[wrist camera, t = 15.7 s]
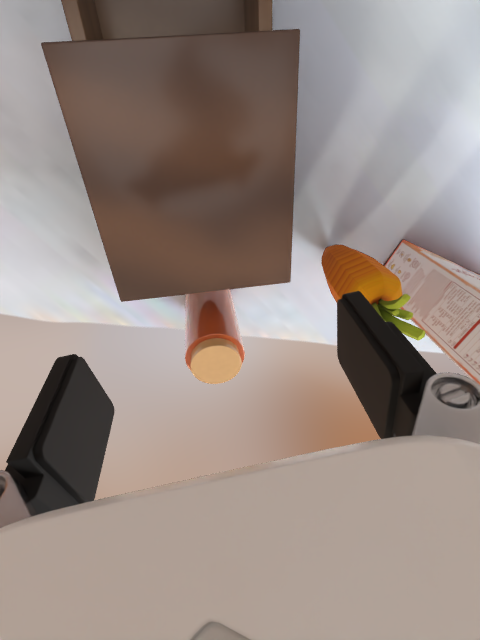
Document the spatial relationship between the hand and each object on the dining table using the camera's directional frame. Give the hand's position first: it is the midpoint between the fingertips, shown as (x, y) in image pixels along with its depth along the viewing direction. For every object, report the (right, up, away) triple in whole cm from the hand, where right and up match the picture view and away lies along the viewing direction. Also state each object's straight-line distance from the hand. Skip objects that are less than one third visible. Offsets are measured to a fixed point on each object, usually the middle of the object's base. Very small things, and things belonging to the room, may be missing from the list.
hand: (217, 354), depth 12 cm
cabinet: (-3, +14, +16) cm, 22 cm away
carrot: (+10, +9, +23) cm, 26 cm away
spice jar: (-3, +4, +24) cm, 24 cm away
